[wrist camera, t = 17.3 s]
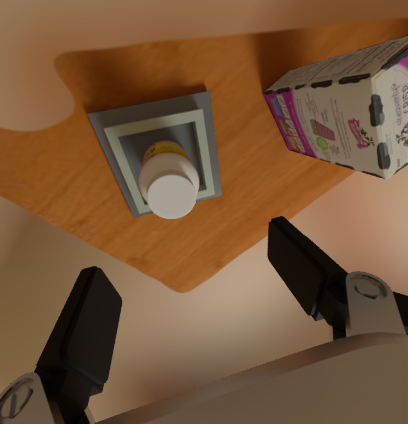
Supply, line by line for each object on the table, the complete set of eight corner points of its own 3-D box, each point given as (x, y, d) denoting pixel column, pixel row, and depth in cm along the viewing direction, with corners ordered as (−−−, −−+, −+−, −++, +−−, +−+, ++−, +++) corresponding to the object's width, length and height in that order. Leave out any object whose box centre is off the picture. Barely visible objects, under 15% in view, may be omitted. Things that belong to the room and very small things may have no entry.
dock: (207, 91, 25) (214, 89, 22) (220, 193, 34) (226, 201, 31) (89, 113, 24) (80, 114, 21) (134, 214, 32) (132, 225, 29)
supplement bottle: (150, 131, 25) (147, 150, 14) (194, 149, 28) (218, 177, 17) (138, 175, 28) (127, 218, 17) (179, 188, 30) (191, 233, 19)
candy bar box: (311, 131, 32) (431, 151, 18) (288, 150, 33) (385, 183, 19) (289, 66, 26) (439, 22, 12) (260, 92, 27) (371, 77, 13)
